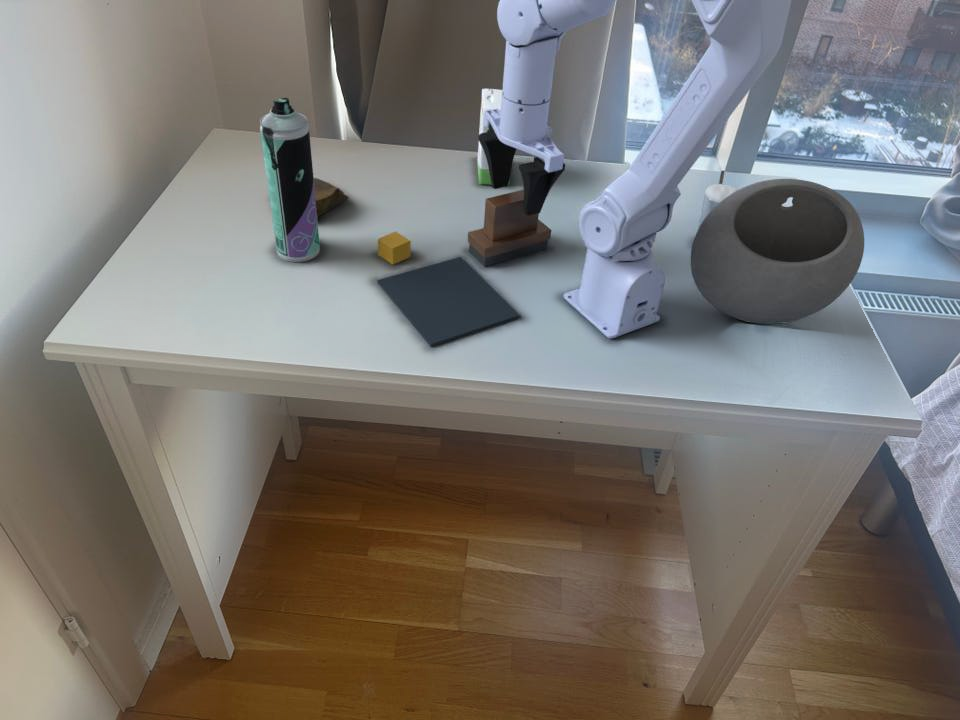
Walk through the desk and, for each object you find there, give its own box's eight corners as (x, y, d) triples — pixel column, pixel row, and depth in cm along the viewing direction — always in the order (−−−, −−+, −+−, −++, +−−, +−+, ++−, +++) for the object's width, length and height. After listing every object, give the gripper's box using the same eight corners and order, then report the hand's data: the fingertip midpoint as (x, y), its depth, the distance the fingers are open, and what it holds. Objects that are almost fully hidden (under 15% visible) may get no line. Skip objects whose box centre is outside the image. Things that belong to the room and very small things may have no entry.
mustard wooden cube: (410, 256, 97) (410, 240, 95) (392, 265, 95) (392, 248, 94) (395, 247, 99) (395, 231, 97) (378, 255, 97) (377, 238, 95)
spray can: (310, 265, 94) (295, 112, 81) (270, 258, 95) (247, 105, 82) (326, 243, 98) (313, 94, 85) (286, 236, 99) (268, 87, 86)
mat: (519, 317, 89) (519, 314, 88) (430, 347, 83) (430, 344, 83) (460, 259, 97) (460, 256, 97) (377, 282, 92) (377, 280, 92)
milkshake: (719, 236, 106) (740, 172, 99) (725, 256, 102) (747, 191, 95) (687, 233, 106) (706, 168, 100) (692, 253, 102) (711, 187, 95)
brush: (530, 233, 103) (537, 181, 98) (549, 249, 101) (556, 196, 95) (466, 251, 99) (469, 197, 94) (484, 268, 96) (488, 213, 91)
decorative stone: (262, 197, 106) (259, 175, 104) (319, 179, 111) (316, 157, 109) (301, 228, 101) (298, 205, 98) (358, 208, 106) (357, 185, 103)
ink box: (510, 186, 113) (517, 111, 106) (477, 185, 113) (482, 109, 105) (507, 161, 120) (513, 88, 112) (476, 159, 120) (481, 87, 112)
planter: (673, 324, 90) (715, 182, 77) (674, 291, 95) (713, 154, 83) (831, 351, 87) (900, 210, 75) (823, 316, 93) (886, 179, 80)
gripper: (591, 113, 84) (574, 218, 93) (520, 70, 93) (510, 170, 102) (540, 123, 81) (527, 231, 90) (472, 78, 90) (466, 180, 99)
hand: (515, 199), depth 96 cm, fingers open, 7 cm apart
